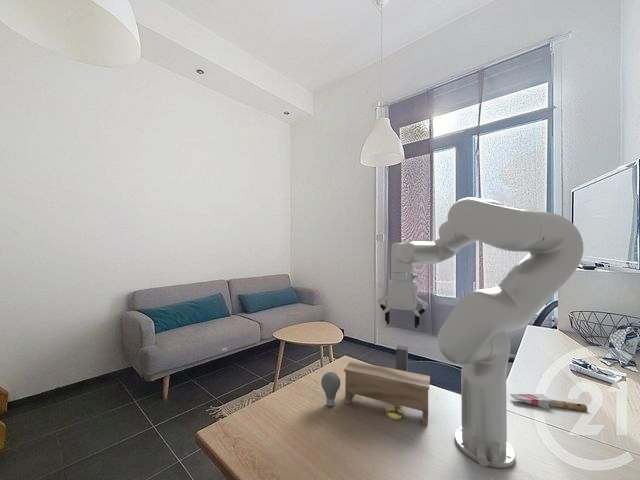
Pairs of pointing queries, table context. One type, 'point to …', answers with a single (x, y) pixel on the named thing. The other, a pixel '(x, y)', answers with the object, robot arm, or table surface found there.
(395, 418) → the token
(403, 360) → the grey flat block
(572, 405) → the paintbrush
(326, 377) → the light bulb
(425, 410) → the wooden bench
